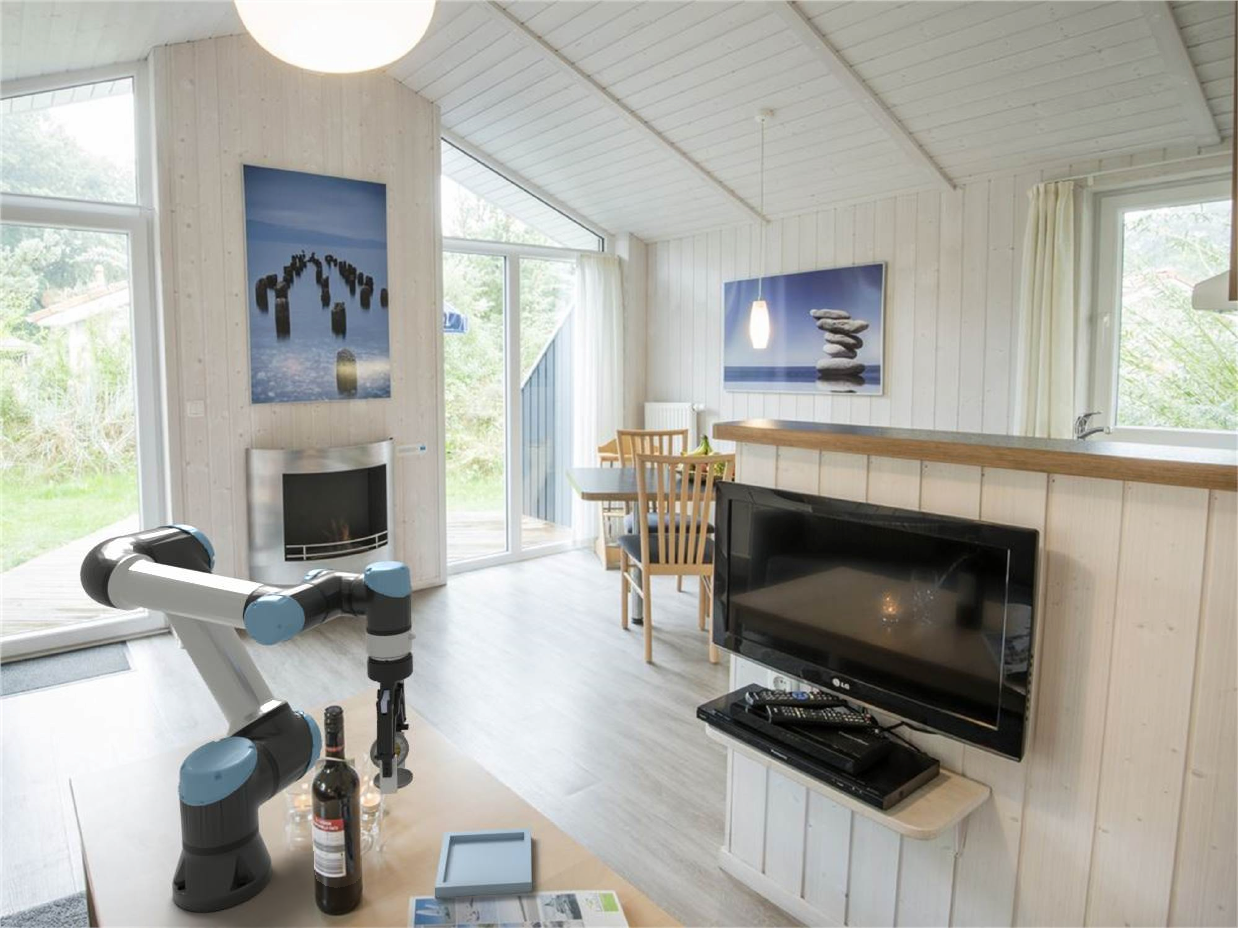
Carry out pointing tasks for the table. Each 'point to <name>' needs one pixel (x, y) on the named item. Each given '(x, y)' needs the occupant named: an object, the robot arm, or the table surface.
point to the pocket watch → (402, 774)
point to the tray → (484, 863)
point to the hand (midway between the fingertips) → (393, 779)
